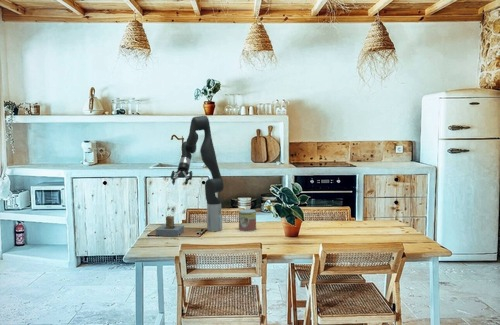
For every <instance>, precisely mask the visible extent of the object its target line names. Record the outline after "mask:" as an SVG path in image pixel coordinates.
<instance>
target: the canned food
mask: <svg viewBox="0 0 500 325" xmlns="http://www.w3.org/2000/svg"><path fill="white" fill-rule="evenodd" d="M238 230H239V231H241V232H254V231H256V230H257V210H255V209H250V208H249V209H240V210H238Z"/></svg>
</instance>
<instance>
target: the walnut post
mask: <svg viewBox="0 0 500 325" xmlns="http://www.w3.org/2000/svg"><path fill="white" fill-rule="evenodd" d="M165 225H166V229H174V225H175V215H167V216H165Z"/></svg>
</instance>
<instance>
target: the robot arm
mask: <svg viewBox="0 0 500 325" xmlns="http://www.w3.org/2000/svg"><path fill="white" fill-rule="evenodd" d="M197 131H198V132H199V131H203V132H204V136H203V137H204V138H203V141H202V143H201V147H200V150H199V152H200V156H201V160H202V163H203V165H205V167H206V168H207V169H208V170H209V172H210V175H211V177H212V178H208V179H206V180H205V183H204V192H205V200H206V224H207V226H206V228H207V231H209V232H220V231H222V229H223V213H222V199H221V198H219V197H217V196H216V194H217V193H221V192H223V191H224V180H223V178H222V177H223V176H222V174H221V171H220V169H219V164H218V160H217V156H216V155H217V154H216V151H215V146H214V143H213V138H212V133H211V126H210V120H209V118H208V116H207V115H198V116H193V117H192V118H191V121H190V126H189V133H188V135H187V138H186V141H183V142H182V144H181V146H180V147H181V157H180V160H179V164H178V167H177V170H176V171H175V170H172V172H171V175H170V180H171V183H172V185H175V183H176V181H177V180H178V179H181V178H185V181H184V184H185V186H186V185H188V184H189V181H191V180H193V175H194V174H193V170H190V167H191V162H192V157H193V156H192V154H195V153H196V151H197V143H198V140H199V134H198V133H197ZM188 175H189V176H188Z"/></svg>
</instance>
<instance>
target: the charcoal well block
mask: <svg viewBox="0 0 500 325" xmlns="http://www.w3.org/2000/svg"><path fill="white" fill-rule="evenodd" d="M183 231H184V232H185V225H175V224H174V229H166V224H163V225H161V226H158V227H157V228H155V236H156V237H174V236H178V235H179V234H181V233H182V232H183ZM184 232H183V233H184ZM183 233H182V234H183ZM182 234H181V235H182ZM158 235H159V236H158ZM162 235H164V236H162ZM165 235H166V236H165ZM167 235H169V236H167ZM179 236H180V235H179ZM179 236H178V237H179Z"/></svg>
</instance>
